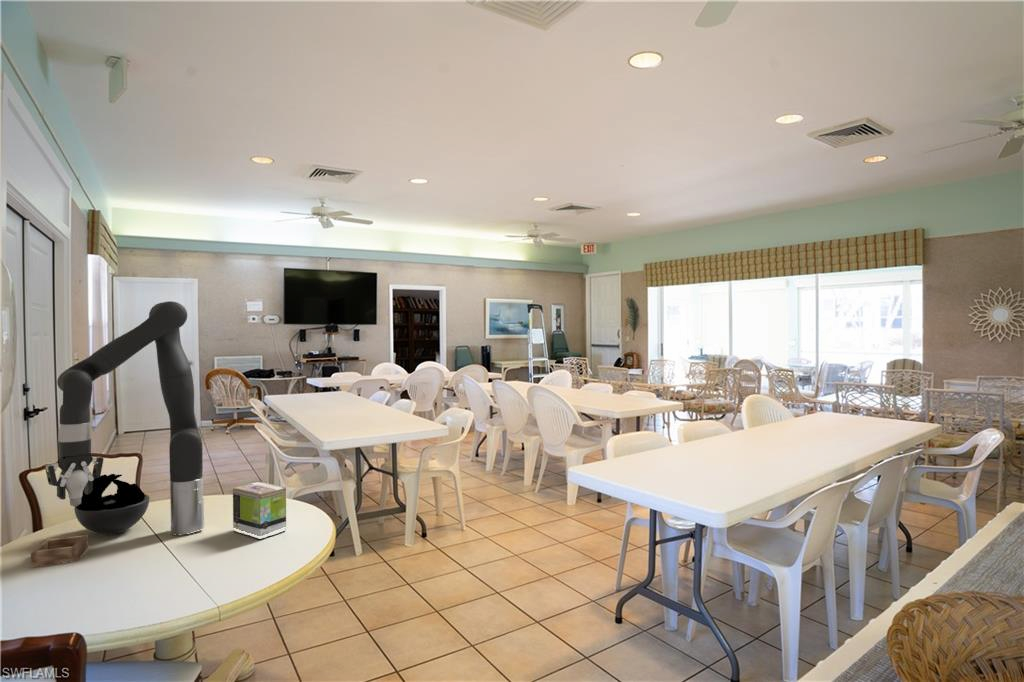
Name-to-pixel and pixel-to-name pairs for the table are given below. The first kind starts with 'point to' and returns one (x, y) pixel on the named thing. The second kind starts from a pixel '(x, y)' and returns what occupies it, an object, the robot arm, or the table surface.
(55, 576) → the table surface
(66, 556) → the wooden tray
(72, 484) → the lightbulb
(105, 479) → the coal bowl
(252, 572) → the table surface
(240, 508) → the tea box
